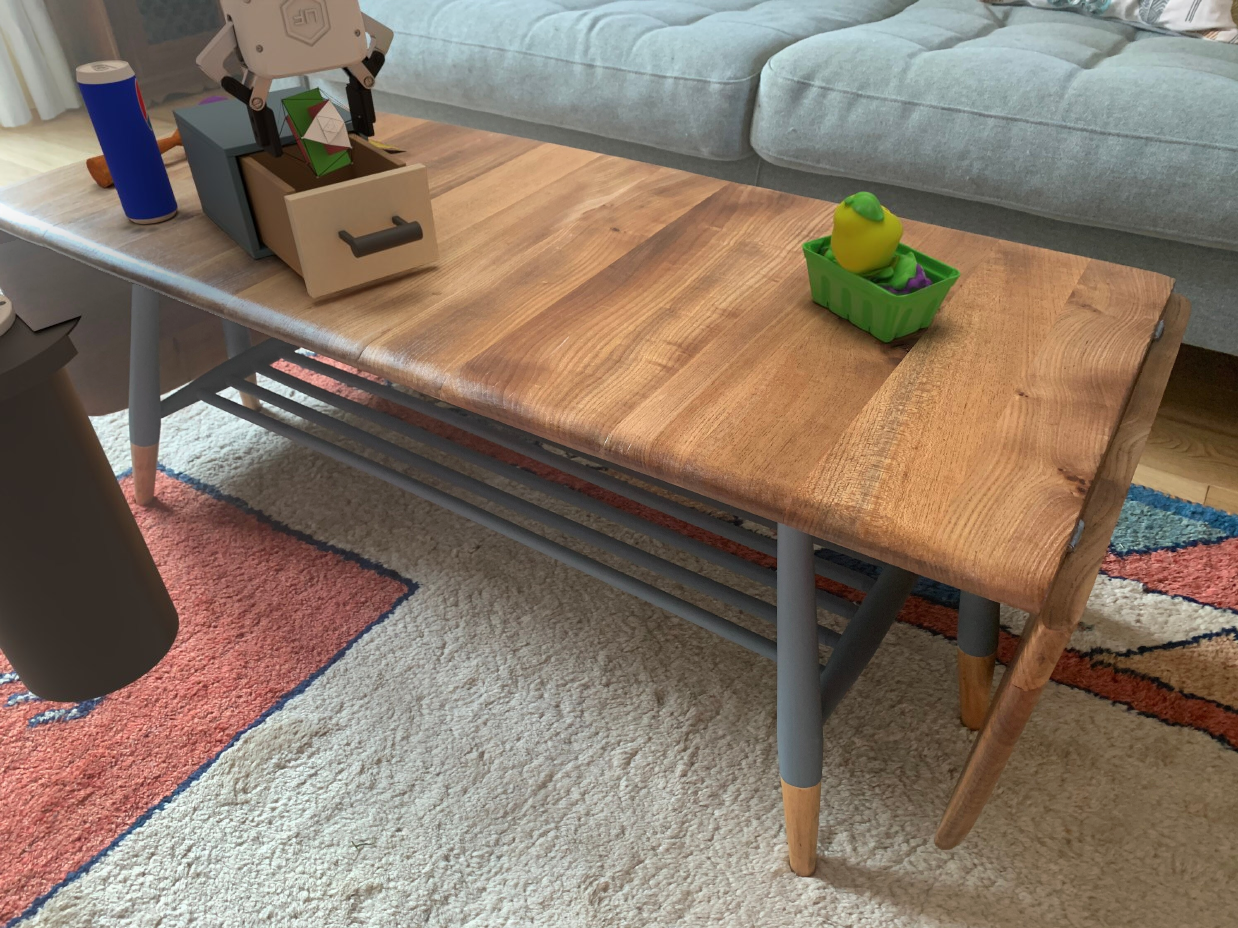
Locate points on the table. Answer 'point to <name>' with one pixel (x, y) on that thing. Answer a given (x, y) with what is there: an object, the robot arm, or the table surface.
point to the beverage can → (127, 140)
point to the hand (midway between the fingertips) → (319, 142)
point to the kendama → (101, 170)
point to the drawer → (342, 215)
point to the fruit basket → (875, 272)
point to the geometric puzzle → (318, 131)
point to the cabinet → (231, 160)
